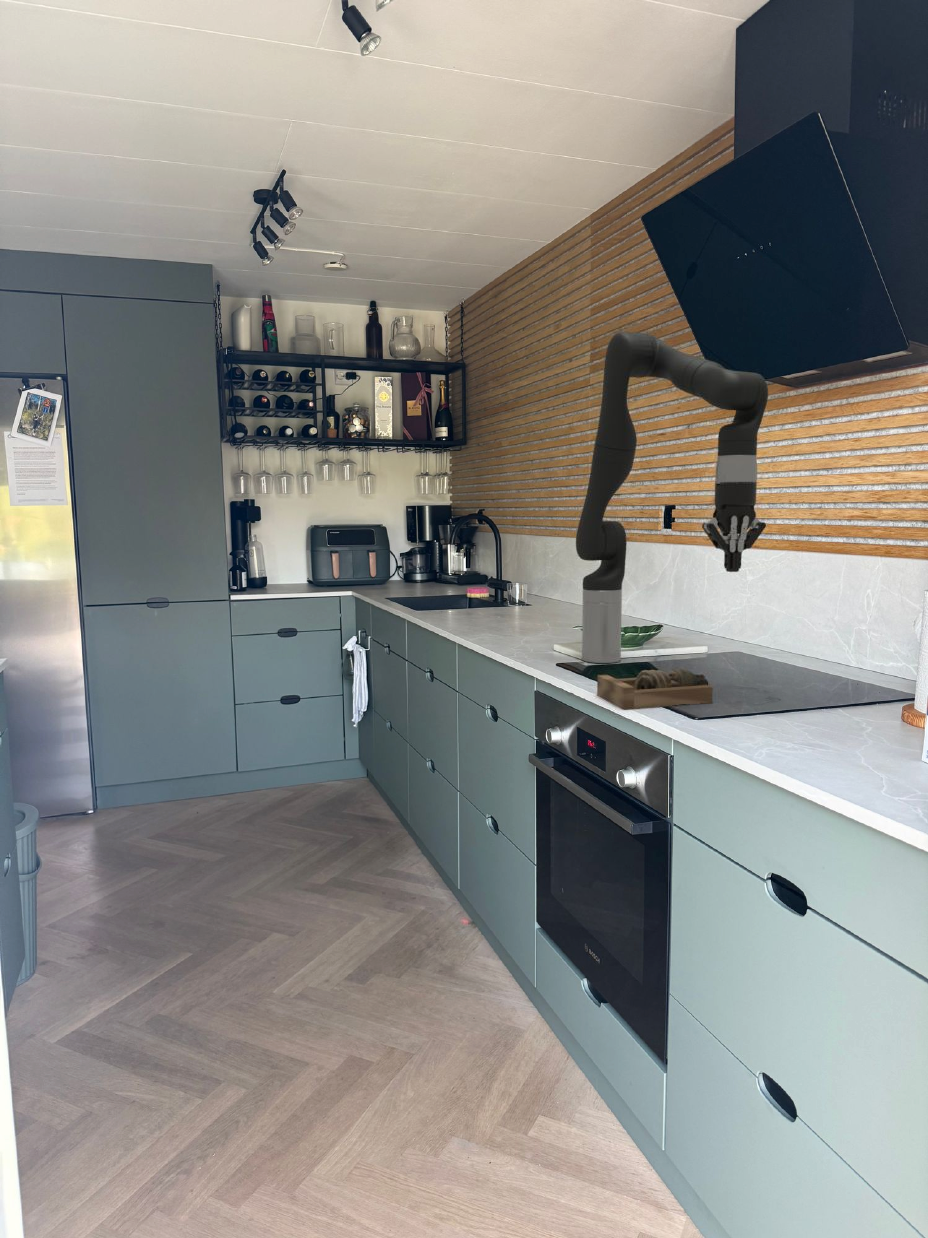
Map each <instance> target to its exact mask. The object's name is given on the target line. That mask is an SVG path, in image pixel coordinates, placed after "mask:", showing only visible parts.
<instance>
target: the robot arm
mask: <svg viewBox="0 0 928 1238" xmlns="http://www.w3.org/2000/svg"><path fill="white" fill-rule="evenodd" d="M631 378H636V379H637V378H638V379H643V378H657V379H658V378H659V379H664V380H667V381H670V382H671V384H672V385H674V387H676V389H678V390H680V391H682V392H683V393H686V394H688V395H692V396H694V397H698V398H699V399H700V398H701V399H703V400H704V402H705V401H706V402H707V403H708V404H710V405H711V406H713V407H714V408H715V407H716V408H718V409H720V410H726V411H735V414H734V417H733V419H732V422H731V423H728V424H725V425H723V426H721V428H720V429H719V431H718V437H717V459H716V465H715V466H716V467H715V473H714V477H715V478H714V501H713V502H714V503H713V504H714V506H715V508H714V511H713V514H712V518H711V519H710V520H708V522H704V523H702V525H701V527H702V529H703V531H704V533H705V534H706V536H707V537H708V539H709V540H710V541H711V543H712V545H713V546H714V547H715V549H718V550H721V551H723V553H724V555H723V556H724V559H723V567H724V569H725V571H726V572H729V573H739V571H740V569H741V568H742V554H743V551H745V550H748V549H752V547H753V545H754V544H755V543H756V541H757V540H758V538H759V537H760V535H761V534H762V533H763V532H764V530H765V529H766V526H767V523H766V522H763V521H760V520H759V519H758V518H757V513H756V511H755V505H756V504H757V503H756V502H757V489H758V488H757V485H758V484H757V483H758V482H757V481H758V480H757V479H758V461H757V460H758V459H757V455H758V454H757V452H758V451H757V450H758V433H759V429H760V427H761V424H762V421H763V417H764V414H765V410H766V408H767V403H768V399H769V388H768V384H767V381H766V379H765V378H764V377H763V375H761V374H760V373H757V372H749V371H738V370H732V369H726V368H725V367H724V366H722V365H721V364H719V363H717V362H715V361H712V360H709V359H705V358H703V357H699V356H695V355H693V354H689V353H685V352H683V351H680V350H678V349H676V348H674V347H672V346H671V345H669V344H667V343H666V342H664V341H663V340H662V339H659V338H658V337H657V336H655V335H652V334H649V333H643V332H633V331H632V332H631V331H619V332H617V333H615V334H614V335H613V336H612V337H611V338H610V340H609V342H608V345H607V349H606V353H605V358H604V367H603V381H602V395H601V396H602V397H601V405H600V411H599V419H598V423H597V424H598V427H597V431H596V436H595V439H594V440H595V441H594V446H593V452H592V459H591V467H590V474H589V477H588V478H589V480H588V484H587V489H586V494H585V499H584V502H583V507H582V511H581V514H580V518H579V522H578V526H577V529H576V530H577V531H576V534H575V535H576V536H575V548H576V554H577V557H579V559H581V560H583V561H590V562H591V561H596V562H597V561H600V565H599V567H598V568H597V569H596V570H594V571H593V572H592V573H589V574H587V575H585V576H584V577H583V579H582V612H581V613H582V630H581V631H582V632H581V635H582V637H581V640H582V641H581V660H582V661H584V662H587V663H593V664H596V663H597V664H612V663H619V662H621V660H622V657H621V656H622V617H623V616H622V610H623V609H622V607H623V580H624V578H625V573H626V572H625V571H626V558H627V534H626V529H625V527H624V526H623V524H622V523H621V522H620V521H616V520H604V517H605V513H606V511H607V507H608V505H609V503H610V501H611V500H612V498H613V497H614V495H615V493H617V491H618V490H619V489H620V488H621V486H622V485H623V484H624V483H625V481H626V480H627V479H628V477H629V476H630V473H631V471H632V469H633V466H634V461H635V455H636V449H637V443H638V440H637V439H638V438H637V431H636V430H635V425H634V423H633V419H632V417H631V414H630V411H629V407H628V390H629V383H630V379H631ZM719 530H720V531H719Z"/></svg>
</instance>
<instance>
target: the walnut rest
mask: <svg viewBox="0 0 928 1238" xmlns="http://www.w3.org/2000/svg"><path fill="white" fill-rule="evenodd" d="M636 678H637V677H629V678H627V677H626V678H615V677H613V676H611V675H608V674H598V675H597V680H596V682H597V684H596V686H597V689H596V690H597V691H596V696H598V697H600V698H601V699H604V700H606V702H609V703H610V704H613V705H614V706H616V707H618V708H620V709H622V710H635V709H636V710H637V709H648V708H662V707H663V708H665V707H674V706H673V705H678V706H680V705H679V704H690V705H701V704H700V703H703V704H711V703H713V693H714V692H713V691H714V690H713V688H714V687H713V686H712V685H709V684H708V685H699V686H685V687H671V688H657V689H643V690H635V680H636Z"/></svg>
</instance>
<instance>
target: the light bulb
mask: <svg viewBox="0 0 928 1238" xmlns="http://www.w3.org/2000/svg"><path fill="white" fill-rule="evenodd" d="M635 678H636V680H635V690H643V689H657V688H671V687H685V686H699V685H708V686H709V681H708V680H707V679H706V677H705V675H704V674H702V673H701V674H695V673H693V672H691V670H688V669H681V668H680V669H673V670H671V671H670V672H669V674H667V673H666V672H665V671H663V670H660V669H658V670H655V669H650V670H649V669H648V670H647V669H644V670H641V671H640V672H639V673H638V675H637V676H636V677H635Z"/></svg>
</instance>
